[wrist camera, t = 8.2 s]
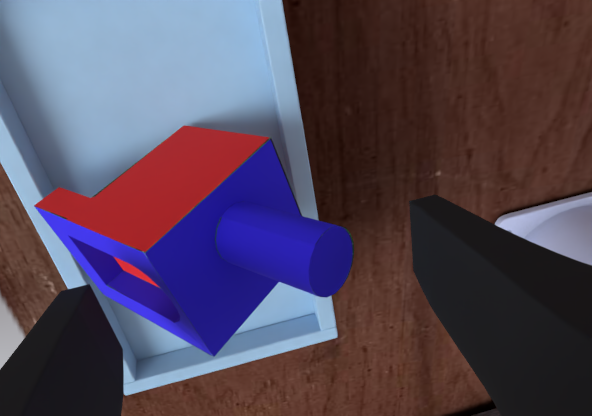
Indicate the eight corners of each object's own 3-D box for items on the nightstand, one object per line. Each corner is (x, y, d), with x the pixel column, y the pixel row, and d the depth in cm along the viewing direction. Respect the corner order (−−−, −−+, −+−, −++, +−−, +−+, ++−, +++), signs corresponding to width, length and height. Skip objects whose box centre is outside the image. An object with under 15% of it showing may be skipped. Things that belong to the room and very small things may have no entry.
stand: (304, 246, 24) (338, 338, 19) (134, 289, 24) (124, 396, 19) (239, -95, 17) (267, -89, 12) (-13, -45, 16) (-96, -17, 11)
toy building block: (197, 208, 18) (399, 268, 13) (102, 295, 16) (300, 408, 11) (149, 120, 16) (367, 151, 11) (32, 206, 14) (236, 294, 9)
